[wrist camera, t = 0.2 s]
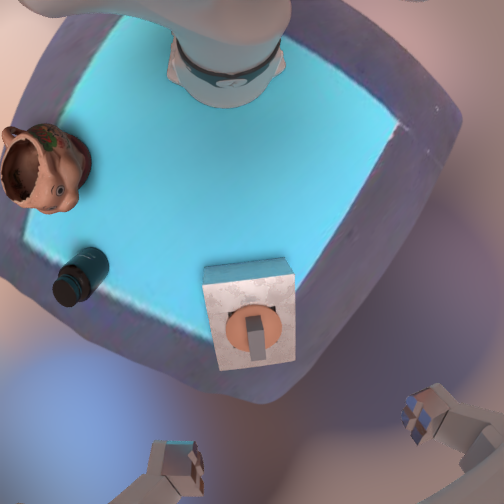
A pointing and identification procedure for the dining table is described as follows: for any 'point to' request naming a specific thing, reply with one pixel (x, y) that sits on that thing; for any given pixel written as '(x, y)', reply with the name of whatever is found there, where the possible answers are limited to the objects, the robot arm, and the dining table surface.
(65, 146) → the brown ceramic cup shape
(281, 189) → the dining table surface
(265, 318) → the end cover
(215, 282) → the housing
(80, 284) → the supplement bottle
